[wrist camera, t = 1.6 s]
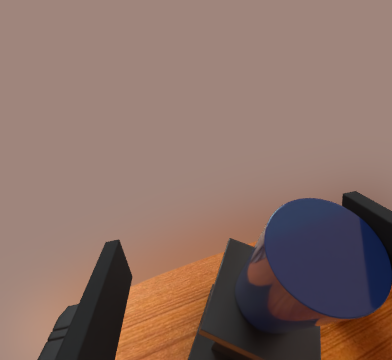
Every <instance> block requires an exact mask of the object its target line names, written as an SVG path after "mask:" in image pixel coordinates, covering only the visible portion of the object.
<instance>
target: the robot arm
mask: <svg viewBox="0 0 392 360" xmlns="http://www.w3.org/2000/svg"><path fill="white" fill-rule="evenodd" d="M342 206H343V207H345V208H347V209H348V210H350V211H352V212H353V213H355V214H356V215H358V216H359V217H360V218H361V219H363V220H364V221H365V222H366V223H367V224H368V225H369V226H370V227H371V228H372V229H373V231H374V232H375V233H376V234H377V236H378V237H379V238H380V240H381V241H382V243H383V245H384V247H385V249H386V251H387V253H388V256H389V259H390V262H391V267H392V211H390V210H389V209H387V208H385V207H383V206H381V205H380V204H378V203H376V202H374V201H372V200H370V199H369V198H367V197H365V196H363V195H362V194H360V193H358V192H356V191H354V192H350V193H344V194H343V200H342ZM131 281H132V274H131V272H130V269H129V266H128V263H127V260H126V257H125V255H124V252H123V249H122V246H121V244H120V241H119V240H114V241H110V242H106V243H105V245H104V248H103V250H102V252H101V254H100V257H99V259H98V261H97V264H96V266H95V268H94V270H93V273H92V275H91V277H90V280H89V282H88V284H87V287H86V289H85V291H84V293H83V296H82V298H81V300H80V303H79V304H77V305H72V306H68V307H67V308H66V310H65V311H64V312H63V313H62V314H61V315H60V316H59V318H58V320H57V322H56V324H55V326H54V328H53V332H51V334H50V336H49V338H48V342H46V344H45V346H44V348H43V350H42V352H41V354H40V356H39V358H38V360H115V356H116V351H117V347H118V342H119V337H120V332H121V328H122V323H123V318H124V314H125V309H126V304H127V300H128V295H129V290H130V286H131Z"/></svg>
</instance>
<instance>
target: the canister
mask: <svg viewBox="0 0 392 360" xmlns="http://www.w3.org/2000/svg"><path fill="white" fill-rule="evenodd" d="M391 286H392V267H391V262H390V259H389V256H388V253H387V251H386V249H385V247H384V245H383V243H382V241H381V240H380V238H379V237H378V236H377V234H376V233H375V232H374V231H373V229H372V228H371V227H370V226H369V225H368V224H367V223H366V222H365V221H364V220H363V219H361V218H360V217H359V216H358V215H356V214H355V213H353V212H352V211H350V210H348V209H347V208H345V207H343V206H340V205H338V204H336V203H333V202H330V201H326V200H323V199H316V198H303V199H297V200H294V201H291V202H288V203H286V204H284V205H282V206H281V207H279V208H278V209H277V210H276V211H275V212H274V213H273V214H272V216H271V217H270V219H269V221H268V223H267V225H266V226H265V228H264V230H263V232H262V234H261V235H260V237H259V239H258V241H257V243H256V245H255V246H254V248H253V250H252V252H251V254H250V256H249V258H248V259H247V261H246V263H245V265H244V267H243V269H242V270H241V272H240V274H239V276H238V278H237V281H236V286H235V296H236V301H237V304H238V307H239V309H240V311H241V313H242V315H243V316H244V317H245V319H246V320H247V321H248V322H249V323H250V324H251V325H252V326H254V327H255V328H257V329H258V330H260V331H262V332H265V333H269V334H282V333H287V332H292V331H297V330H302V329H307V328H312V327H317V326H322V325H327V324H332V323H337V322H342V321H347V320H353V319H358V318H361V317H365V316H367V315H369V314H372V313H374V312H375V311H376V310H377V309H379V308H380V307H381V306H382V305H383V303H384V302H385V301H386V299H387V297H388V295H389V293H390V290H391Z"/></svg>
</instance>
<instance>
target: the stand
mask: <svg viewBox="0 0 392 360" xmlns="http://www.w3.org/2000/svg"><path fill="white" fill-rule="evenodd" d="M253 248H254V247H252V246H250V245H247V244H245V243H242V242H239V241H237V240H234V239H231V238H229V241H228V244H227V247H226V250H225V253H224V256H223V259H222V262H221V265H220V268H219V271H218V274H217V277H216V281H215V284H213V285H212V288H211V291H210V294H209V297H208V300H207V303H206V306H205V309H204V312H203V315H202V318H201V321H200V324H199V327H198V330H197V333H196V336H195V339H194V342H193V345H192V349H191V352H190V355H189V358H188V360H321V342H320V326H317V327H312V328H307V329H302V330H297V331H292V332H287V333H282V334H269V333H265V332H262V331H260V330H258V329H257V328H255V327H254V326H252V325H251V324H250V323H249V322H248V321H247V320H246V319H245V317H244V316H243V315H242V313H241V311H240V309H239V307H238V304H237V301H236V296H235V286H236V281H237V278H238V276H239V274H240V272H241V270H242V269H243V267H244V265H245V263H246V261H247V259H248V258H249V256H250V254H251V252H252V250H253Z"/></svg>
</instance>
